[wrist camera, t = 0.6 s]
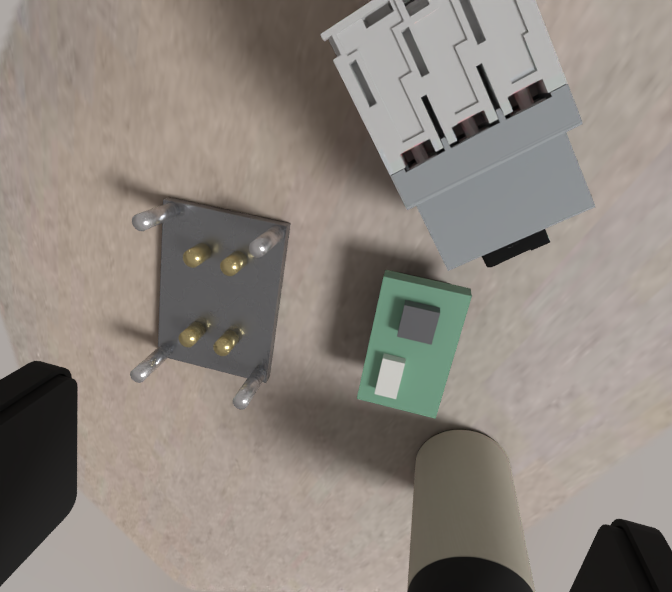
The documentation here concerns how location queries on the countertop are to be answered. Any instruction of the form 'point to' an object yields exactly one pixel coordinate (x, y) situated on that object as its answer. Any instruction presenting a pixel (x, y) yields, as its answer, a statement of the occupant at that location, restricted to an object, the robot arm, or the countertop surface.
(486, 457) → the travel mug
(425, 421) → the countertop surface
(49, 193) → the countertop surface
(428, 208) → the circuit breaker
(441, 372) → the board
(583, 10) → the countertop surface
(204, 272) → the chassis
